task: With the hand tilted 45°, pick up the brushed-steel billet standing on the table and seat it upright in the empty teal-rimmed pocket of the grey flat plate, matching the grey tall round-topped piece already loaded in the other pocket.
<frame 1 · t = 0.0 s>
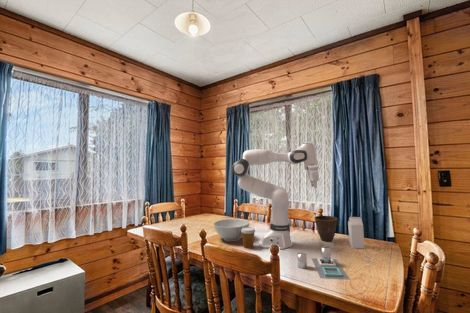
hand: (314, 187, 156), 39 cm above the table, tool pointing down, fingers open, 8 cm apart
disposable coffee cup: (248, 247, 155), on the table
grey flat plate: (329, 270, 117), on the table
grey tall round-topped piece: (326, 263, 122), point 1 cm above the table, touching grey flat plate
plant pot: (326, 240, 163), on the table
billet: (302, 269, 119), on the table
decorative bowl: (232, 239, 173), on the table
milk carton: (356, 246, 150), on the table
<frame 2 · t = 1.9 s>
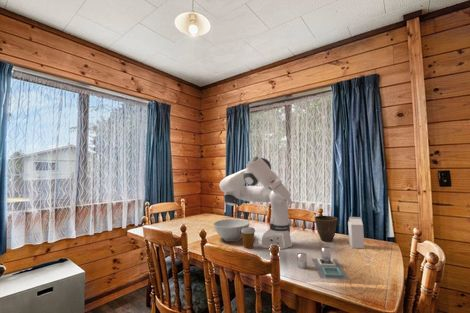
hand: (288, 202, 121), 35 cm above the table, tool tilted 40°, fingers open, 8 cm apart
nothing on the table moved.
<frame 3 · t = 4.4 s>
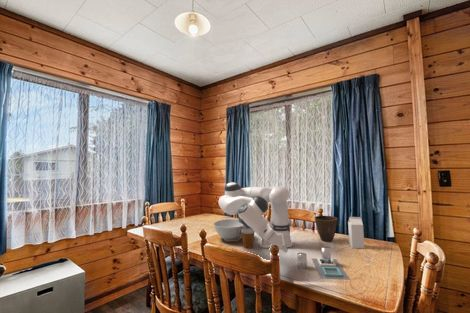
hand: (284, 247, 118), 12 cm above the table, tool tilted 45°, fingers open, 8 cm apart
nothing on the table moved.
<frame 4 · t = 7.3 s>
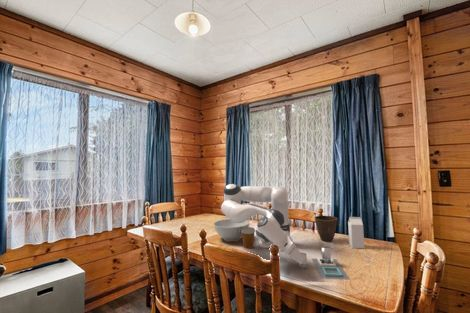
hand: (303, 260, 119), 5 cm above the table, tool tilted 45°, fingers closed on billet, 4 cm apart
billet: (302, 269, 119), on the table, touching gripper
everything else where it was.
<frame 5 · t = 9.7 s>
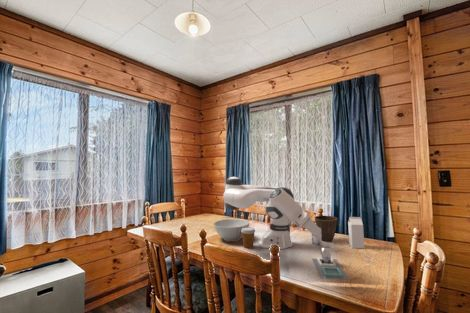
hand: (318, 234, 114), 19 cm above the table, tool tilted 45°, fingers closed on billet, 4 cm apart
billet: (316, 244, 113), point 14 cm above the table, touching gripper
everything else where it was.
when the fingers open (8 cm above the table, at t = 12.6 s): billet drops 2 cm, resting on grey flat plate.
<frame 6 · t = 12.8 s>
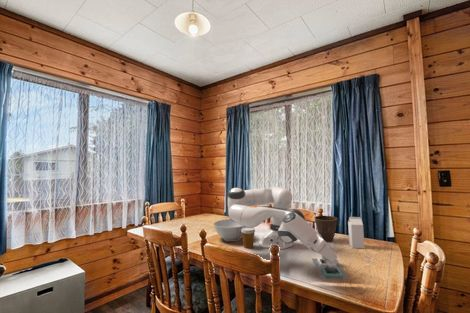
hand: (332, 258, 112), 8 cm above the table, tool tilted 45°, fingers open, 6 cm apart
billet: (331, 272, 111), point 2 cm above the table, touching grey flat plate
everything else where it was.
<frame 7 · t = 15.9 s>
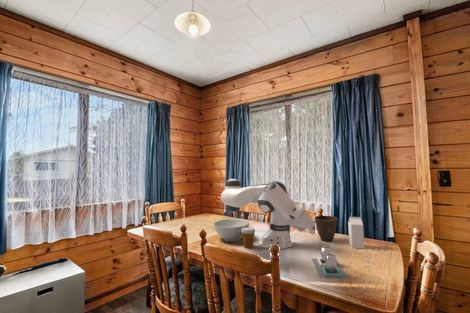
hand: (307, 232, 113), 21 cm above the table, tool tilted 40°, fingers open, 8 cm apart
nothing on the table moved.
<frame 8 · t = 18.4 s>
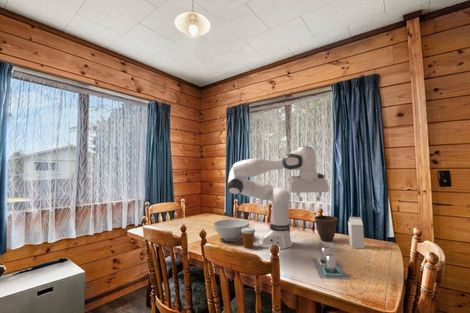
hand: (309, 200, 127), 34 cm above the table, tool pointing down, fingers open, 8 cm apart
nothing on the table moved.
at the end: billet 0.1 cm from the target spot on the grey flat plate, point 1.5 cm above the grey flat plate's base; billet tilted 0°; the gripper is holding nothing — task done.
